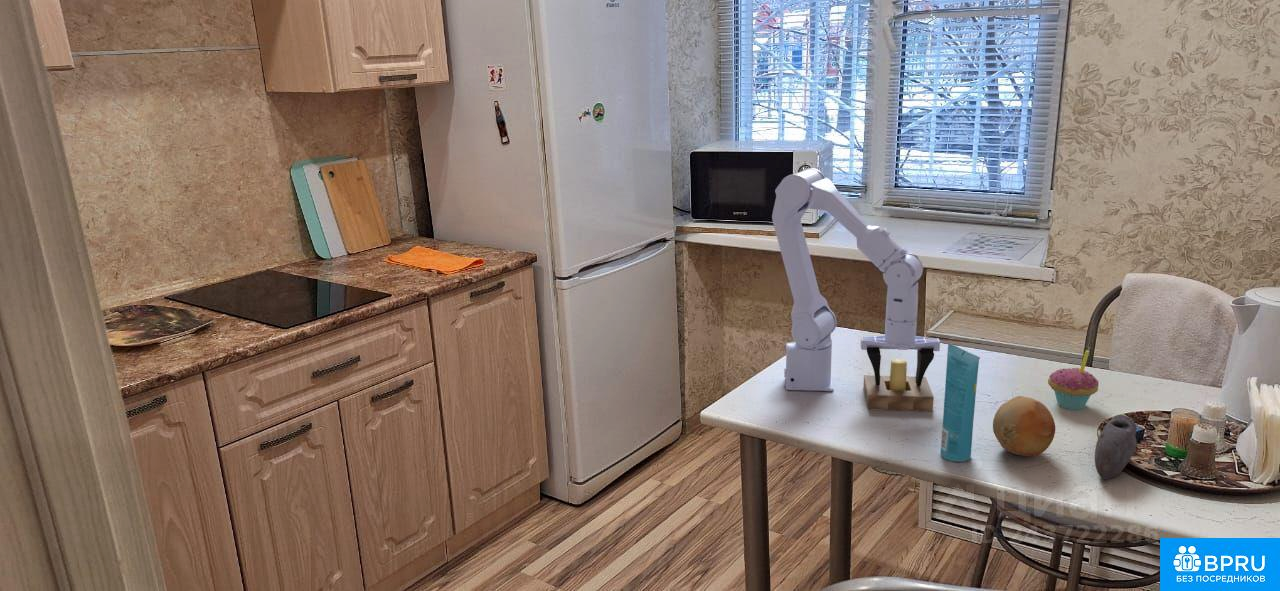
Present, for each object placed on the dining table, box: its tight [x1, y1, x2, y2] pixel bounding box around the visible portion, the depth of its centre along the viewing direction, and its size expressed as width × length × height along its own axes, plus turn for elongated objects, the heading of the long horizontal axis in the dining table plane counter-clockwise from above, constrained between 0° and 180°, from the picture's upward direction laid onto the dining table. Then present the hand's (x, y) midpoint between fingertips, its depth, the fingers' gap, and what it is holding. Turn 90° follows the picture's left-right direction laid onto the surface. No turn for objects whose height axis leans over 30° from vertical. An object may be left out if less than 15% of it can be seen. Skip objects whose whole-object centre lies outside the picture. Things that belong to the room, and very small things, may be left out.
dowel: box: [889, 358, 908, 390], centre depth 170 cm, size 3×3×8 cm
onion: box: [992, 395, 1056, 457], centre depth 147 cm, size 10×10×10 cm
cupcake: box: [1047, 346, 1099, 411], centre depth 164 cm, size 9×8×12 cm
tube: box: [940, 342, 981, 463], centre depth 146 cm, size 7×5×19 cm, turn 26°
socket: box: [862, 374, 935, 412], centre depth 171 cm, size 12×10×3 cm
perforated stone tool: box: [1094, 414, 1138, 480], centre depth 142 cm, size 15×5×7 cm, turn 140°
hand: (897, 383), depth 170 cm, fingers open, 7 cm apart
